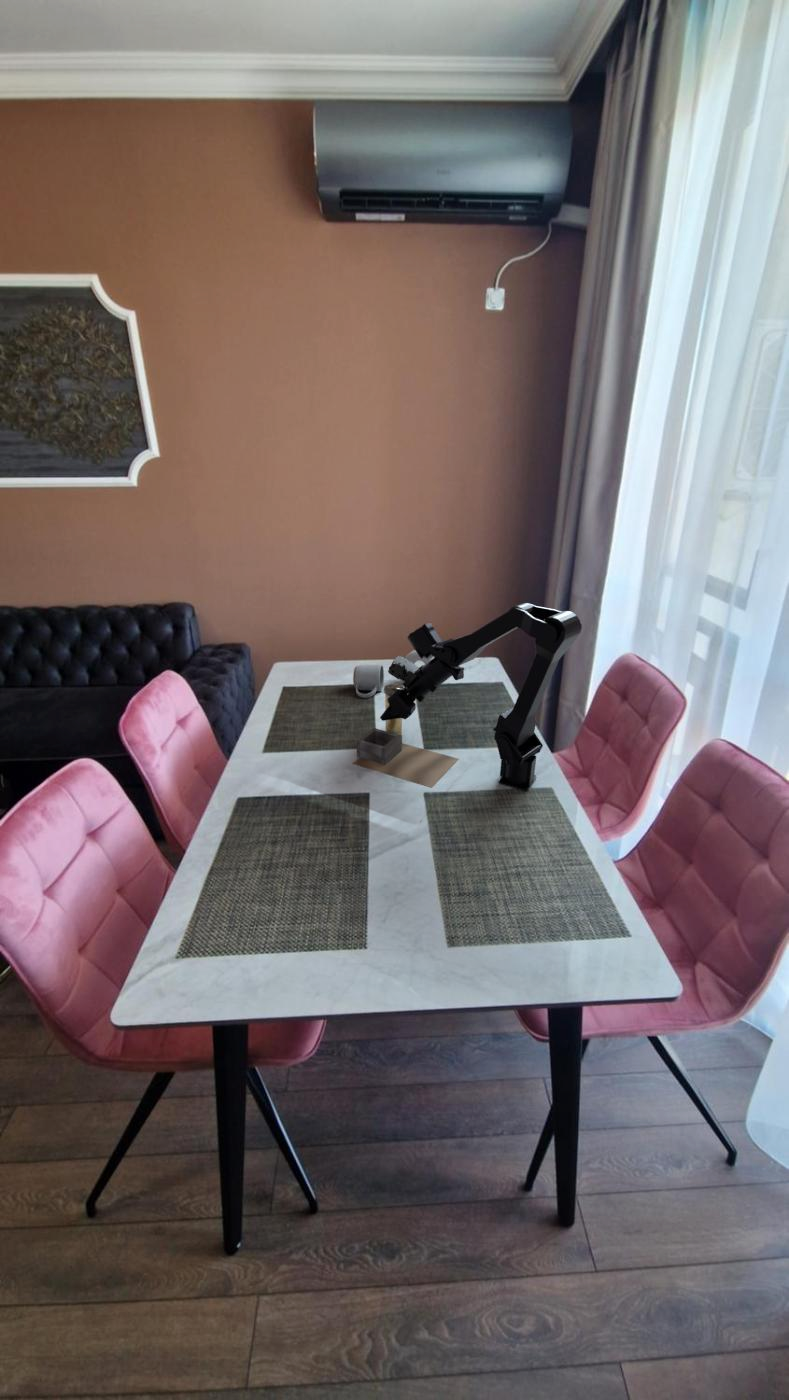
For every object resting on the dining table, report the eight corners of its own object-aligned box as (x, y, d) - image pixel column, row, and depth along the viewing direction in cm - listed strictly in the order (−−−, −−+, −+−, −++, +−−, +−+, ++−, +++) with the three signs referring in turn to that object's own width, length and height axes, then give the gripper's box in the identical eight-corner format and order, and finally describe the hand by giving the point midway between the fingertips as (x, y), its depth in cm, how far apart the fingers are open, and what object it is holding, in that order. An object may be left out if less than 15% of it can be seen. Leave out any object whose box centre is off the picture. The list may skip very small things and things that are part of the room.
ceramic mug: (357, 683, 182) (356, 659, 179) (384, 684, 181) (384, 661, 178) (350, 698, 173) (349, 673, 170) (378, 699, 172) (378, 675, 169)
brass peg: (406, 738, 150) (406, 686, 145) (397, 745, 147) (397, 692, 141) (390, 733, 153) (390, 682, 147) (380, 741, 149) (380, 689, 143)
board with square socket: (458, 764, 139) (460, 743, 137) (431, 793, 128) (432, 771, 125) (380, 742, 148) (380, 722, 146) (349, 768, 137) (348, 747, 135)
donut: (435, 679, 186) (437, 648, 181) (435, 683, 182) (436, 652, 178) (403, 678, 186) (403, 647, 182) (402, 682, 183) (402, 651, 179)
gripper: (422, 636, 147) (379, 673, 154) (396, 661, 131) (350, 701, 138) (452, 670, 147) (408, 705, 155) (430, 700, 131) (383, 737, 139)
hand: (388, 711), depth 147 cm, fingers open, 9 cm apart
